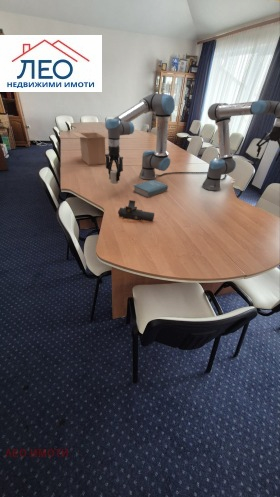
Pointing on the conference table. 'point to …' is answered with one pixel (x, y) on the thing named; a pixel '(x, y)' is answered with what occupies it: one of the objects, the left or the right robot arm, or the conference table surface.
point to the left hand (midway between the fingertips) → (114, 179)
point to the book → (150, 188)
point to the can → (113, 176)
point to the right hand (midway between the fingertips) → (266, 158)
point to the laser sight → (135, 213)
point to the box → (92, 146)
